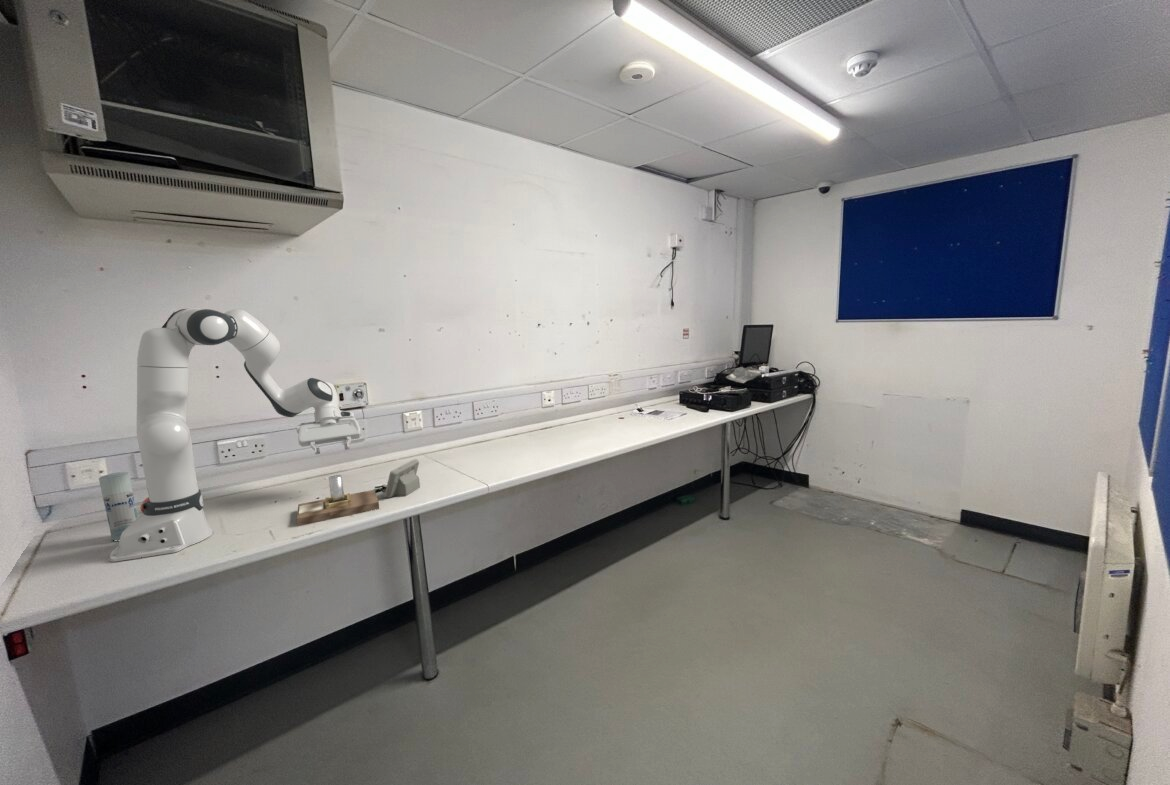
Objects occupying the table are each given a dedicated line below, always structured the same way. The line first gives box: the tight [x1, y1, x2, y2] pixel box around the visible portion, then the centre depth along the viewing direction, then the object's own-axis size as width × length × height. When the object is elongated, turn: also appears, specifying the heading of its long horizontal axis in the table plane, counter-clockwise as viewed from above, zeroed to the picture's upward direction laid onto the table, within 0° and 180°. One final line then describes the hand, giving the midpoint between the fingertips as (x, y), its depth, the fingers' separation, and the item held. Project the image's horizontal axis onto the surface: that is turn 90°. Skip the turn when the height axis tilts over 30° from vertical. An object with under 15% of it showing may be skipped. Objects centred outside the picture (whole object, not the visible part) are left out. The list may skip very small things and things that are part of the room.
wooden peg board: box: [296, 489, 380, 527], centre depth 156 cm, size 24×14×4 cm, turn 120°
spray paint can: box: [98, 471, 139, 541], centre depth 139 cm, size 6×6×20 cm
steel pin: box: [328, 474, 345, 503], centre depth 156 cm, size 4×4×12 cm
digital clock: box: [384, 458, 421, 499], centre depth 172 cm, size 16×9×11 cm, turn 155°
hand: (332, 451), depth 165 cm, fingers open, 8 cm apart
